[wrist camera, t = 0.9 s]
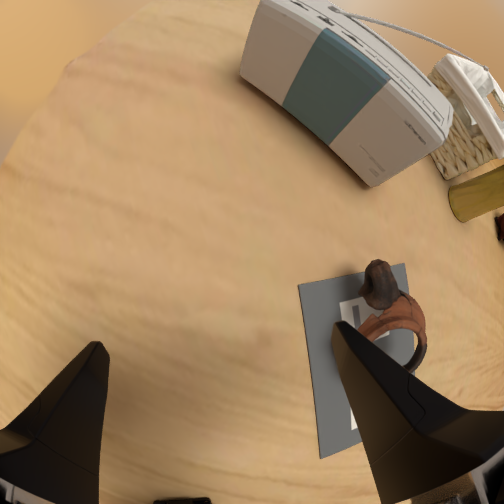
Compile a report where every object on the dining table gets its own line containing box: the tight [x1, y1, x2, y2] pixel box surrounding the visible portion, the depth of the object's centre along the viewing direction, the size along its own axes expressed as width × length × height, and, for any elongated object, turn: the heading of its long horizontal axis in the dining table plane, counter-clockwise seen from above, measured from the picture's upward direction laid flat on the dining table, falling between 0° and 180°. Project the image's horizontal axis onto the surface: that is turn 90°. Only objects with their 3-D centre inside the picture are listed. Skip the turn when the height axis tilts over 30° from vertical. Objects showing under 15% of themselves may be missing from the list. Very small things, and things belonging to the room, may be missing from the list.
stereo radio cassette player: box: [240, 0, 489, 187], centre depth 20 cm, size 21×8×20 cm, turn 49°
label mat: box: [298, 263, 415, 459], centre depth 25 cm, size 20×14×1 cm
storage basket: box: [427, 54, 504, 180], centre depth 29 cm, size 24×16×15 cm
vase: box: [449, 165, 504, 222], centre depth 26 cm, size 6×6×14 cm
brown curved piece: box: [358, 259, 427, 374], centre depth 23 cm, size 12×10×8 cm
